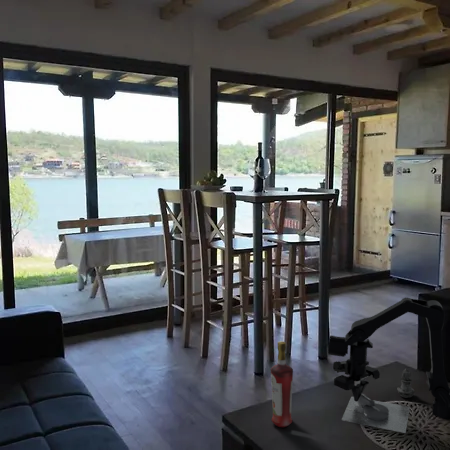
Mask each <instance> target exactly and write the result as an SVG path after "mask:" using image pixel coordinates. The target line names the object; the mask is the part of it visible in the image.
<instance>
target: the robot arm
mask: <svg viewBox="0 0 450 450" xmlns="http://www.w3.org/2000/svg"><path fill="white" fill-rule="evenodd" d="M407 313H410V314H414V315H416V316H419V317H421V318H425V319H426V320H425V321H426V323H427V327H428V333H429V334H428V335H429V347H430V350H429V351H430V363H431V364H430V365H431V368H430V371H425V373H426V378H427V379H426V386H427V389H428V391H429V392H431V395H432V397H433V398H434V400H433V401H432V415H434V416H436V417H438V418H441V419H444V420H450V386H449V382H448V380H447V379H448V378H447V375H446V372H445V363H444V362H445V361H444V347H443V346H444V345H443V327H444V324H445V318H446V312H445V309H444V308H443V306H442V304H441V303H440V302H439V301H438V300H435V299H434V300H433V299H432V300H423V299H417V298H416V299H415V298H410V297H403V298H402V299H401V300H399V301H397V302H396V303H394V304H391V305H390V306H388V307H387V308H385V309H383V310H382V311H380V312H377V313H375V314H374V315H372V316H370V317H369V316H368V317H363V318H360V319H358V320H356V321H354V322H353V323H352V324H351V328H350V330H349V331H348V332H347V333H346V334H345V337H344V336H337V335H332V334H330V335H329V339H328V340H329V341H328V347H327V355H328V356H334V357H347V355H348V354H349V358H347V359H346V360H343V361H341V360H340V361H339V360H338V361H337V360H336V361H334V362H333V363H332V368H333V371H334V372H336V373H337V374H338V373H344V374H341V375H338V376H336V377H334V378H333V385H334V386H336V387H338V388H340V389H342V390H345V391H350V390H351V392H352V397H354V401H356V402H357V401H358V399H359V398H360V396H361V394H362V393H363V392H364V391H365V389H367V387H368V386H369V384H370V382H369V381H367V379H366V378H368V377H371V376H372V379H373V380H378V379H379V378H380V375H381V373H380V371H379V370H378V369H377V368H375V367H372V366H370V361H368V360H367V357H368V349H373V348H374V344H373V343H372V342H371V340H370V339H369V338H370V337H371V336H372V335H374V333H375V332H377V330H379V329H380V328H383V326H385V325H388V324H389V323H391V322H392V321H395V320H396V319H398V318H400V317H401V316H403V315H405V314H407ZM345 375H347V376H345ZM363 394H364V393H363Z"/></svg>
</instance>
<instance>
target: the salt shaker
mask: <svg viewBox="0 0 450 450" xmlns="http://www.w3.org/2000/svg"><path fill="white" fill-rule="evenodd" d="M411 376H412V375H411V371H410V370H409V369H408V368H407V367H406V368H405V369H403V370H402V371H401V378H400V381H401V385H400V386H398V387H397V391H398V394H399V396H400V397H402V398H406V399H410V398H412V397H413V396H414V393H415V389H414V388H413V387H411V382H412V379H411Z"/></svg>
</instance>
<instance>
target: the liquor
mask: <svg viewBox="0 0 450 450" xmlns="http://www.w3.org/2000/svg"><path fill="white" fill-rule="evenodd" d="M286 344H287V342H285V341H283V340H282V341H281V340H280V341H277V351H278V352H277V361H276V364H274V365H273V366H272V367H270V383H271V385H270V387H271V400H272V401H271V402H272V417H271V422H272V423H273V424H274V425H275V426H276V427H277V428H287V427H289V425H290V424H292V423H293V418H292V399H293V397H292V396H293V380H294V369H293V368H292V367H291V366H290V365H288V364H287V359H286V347H287V345H286Z"/></svg>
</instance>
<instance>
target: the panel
mask: <svg viewBox="0 0 450 450" xmlns="http://www.w3.org/2000/svg"><path fill="white" fill-rule="evenodd" d="M372 400H373V401H375V403H376V404H381V405H383V406H385V407H387V408H388V410H389V417H388V419H386V420H383V421H375V420H371V419H369V418H367V417H366V416H365V415H364V406H363V405H362V404H360V403H359V402H358V401H357V402H356V401H354V396H353V395H352V396H351V397H350V399H349V401H348V404H347V406H346V408H345V411H344V413H343V415H342V418H341V421H343V422H349V423H354V424H359V425H364V426H369V427H372V428H373V427H374V428H379V429H383V430H388V431H392V432H393V431H394V432H397V433H402V434H403V433H404V434H407V426H408V422H409V421H408V420H409V415H410V409H411V407H410V406H406V405H401V404H397V403H396V404H395V403H390V402H384V401H378V400H374V399H372Z"/></svg>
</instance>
